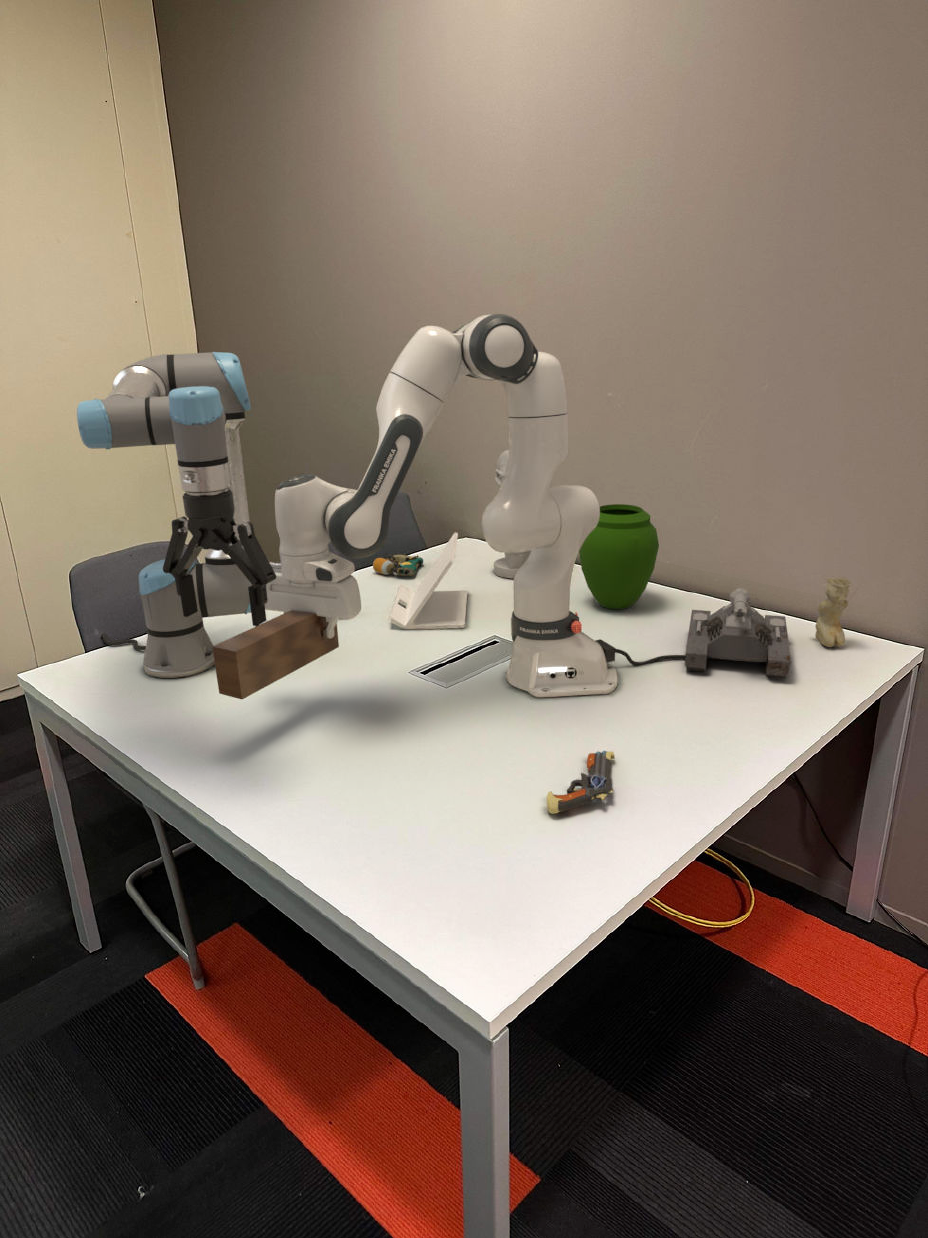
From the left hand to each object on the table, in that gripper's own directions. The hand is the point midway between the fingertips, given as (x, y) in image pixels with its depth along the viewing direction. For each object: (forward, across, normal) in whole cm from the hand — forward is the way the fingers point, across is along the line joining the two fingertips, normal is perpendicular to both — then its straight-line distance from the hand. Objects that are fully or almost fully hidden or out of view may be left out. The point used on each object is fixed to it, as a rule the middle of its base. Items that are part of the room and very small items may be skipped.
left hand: (224, 618), depth 140 cm
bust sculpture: (+26, +16, +111) cm, 115 cm away
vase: (+26, +45, +94) cm, 108 cm away
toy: (+25, +76, +70) cm, 107 cm away
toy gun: (+25, +58, +9) cm, 64 cm away
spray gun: (+26, -20, +105) cm, 110 cm away
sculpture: (+25, +94, +83) cm, 128 cm away
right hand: (+11, +3, +21) cm, 24 cm away
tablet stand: (+26, +2, +76) cm, 80 cm away
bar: (+14, +1, +12) cm, 19 cm away
